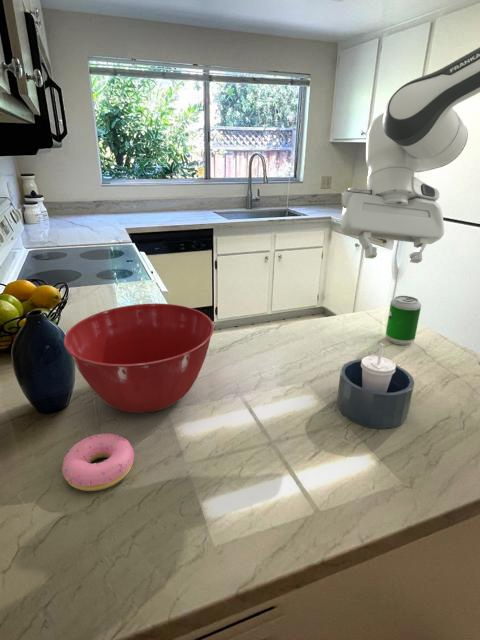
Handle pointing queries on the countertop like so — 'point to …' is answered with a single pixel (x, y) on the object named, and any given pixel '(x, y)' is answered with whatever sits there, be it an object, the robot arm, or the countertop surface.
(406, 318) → the soda can
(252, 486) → the countertop surface
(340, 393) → the pot
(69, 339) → the mixing bowl
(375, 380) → the smoothie
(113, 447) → the doughnut
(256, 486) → the countertop surface
